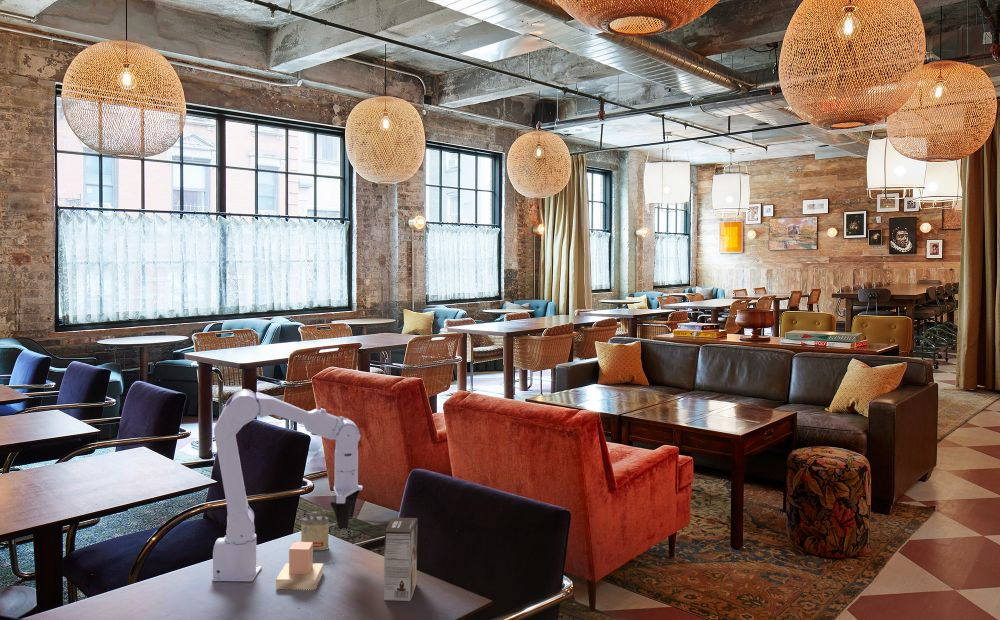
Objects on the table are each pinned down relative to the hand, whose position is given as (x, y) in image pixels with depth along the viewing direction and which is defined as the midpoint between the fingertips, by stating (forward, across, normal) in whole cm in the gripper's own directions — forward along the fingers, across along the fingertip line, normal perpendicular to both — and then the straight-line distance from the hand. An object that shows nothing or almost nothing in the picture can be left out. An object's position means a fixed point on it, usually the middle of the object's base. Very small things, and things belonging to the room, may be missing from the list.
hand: (345, 522), depth 184 cm
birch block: (+11, -11, +9) cm, 18 cm away
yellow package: (+11, +10, +10) cm, 17 cm away
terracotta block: (+8, -10, +9) cm, 15 cm away
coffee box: (+11, -15, -15) cm, 24 cm away
